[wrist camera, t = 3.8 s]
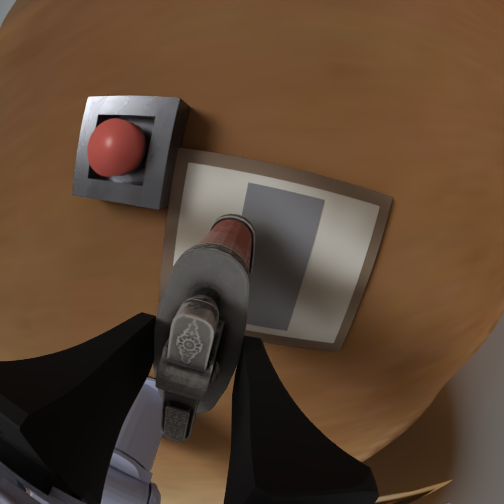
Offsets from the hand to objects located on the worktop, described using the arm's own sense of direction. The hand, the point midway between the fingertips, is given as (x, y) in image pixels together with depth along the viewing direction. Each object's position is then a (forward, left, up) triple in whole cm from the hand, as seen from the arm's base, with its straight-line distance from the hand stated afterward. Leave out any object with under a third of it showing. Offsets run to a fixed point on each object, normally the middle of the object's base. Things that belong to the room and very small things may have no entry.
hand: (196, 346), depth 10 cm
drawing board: (+1, -3, -10) cm, 10 cm away
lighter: (0, 0, -8) cm, 8 cm away
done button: (+7, +8, -8) cm, 13 cm away
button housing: (+7, +8, -10) cm, 15 cm away
